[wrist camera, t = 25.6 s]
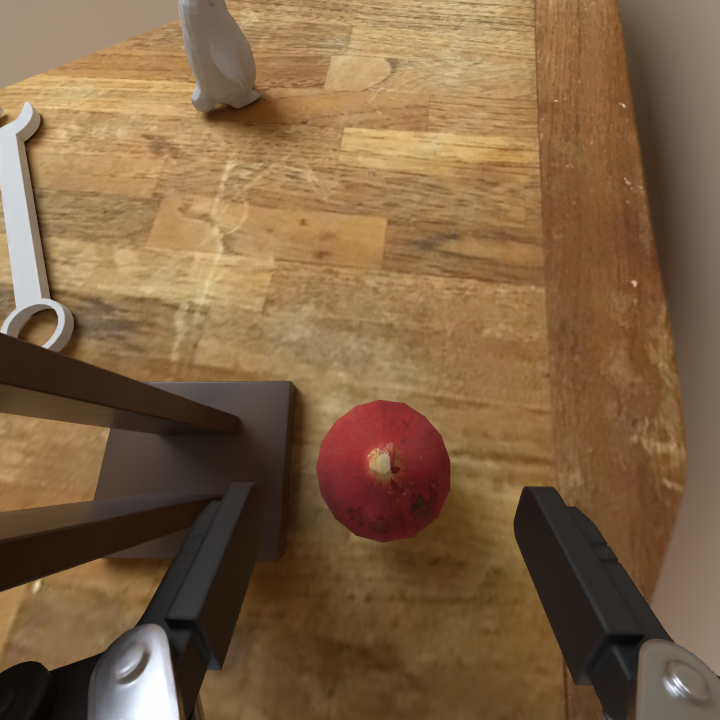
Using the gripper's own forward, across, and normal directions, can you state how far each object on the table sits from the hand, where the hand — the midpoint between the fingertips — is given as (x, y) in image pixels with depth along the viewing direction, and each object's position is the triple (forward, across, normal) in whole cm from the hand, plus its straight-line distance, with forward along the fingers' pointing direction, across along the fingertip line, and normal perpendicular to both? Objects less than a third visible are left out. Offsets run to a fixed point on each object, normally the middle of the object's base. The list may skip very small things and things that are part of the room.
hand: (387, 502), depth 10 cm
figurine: (+27, +12, -15) cm, 34 cm away
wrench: (+19, +26, -8) cm, 33 cm away
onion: (+7, 0, +5) cm, 8 cm away
